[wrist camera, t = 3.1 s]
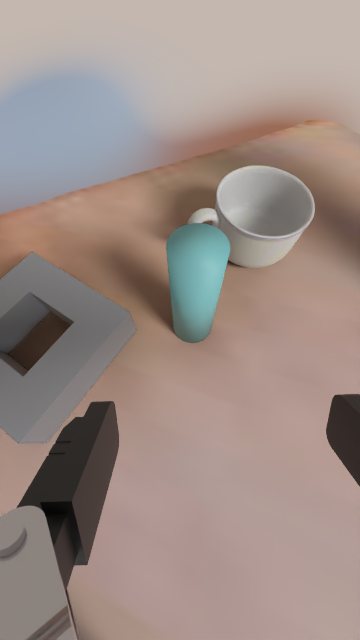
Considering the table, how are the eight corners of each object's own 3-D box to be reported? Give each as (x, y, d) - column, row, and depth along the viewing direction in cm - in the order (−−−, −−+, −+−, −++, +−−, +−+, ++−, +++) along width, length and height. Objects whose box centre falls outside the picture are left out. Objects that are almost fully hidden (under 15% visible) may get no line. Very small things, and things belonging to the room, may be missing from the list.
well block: (51, 275, 32) (32, 251, 28) (136, 329, 29) (129, 311, 25) (-44, 364, 27) (-84, 350, 23) (46, 443, 24) (18, 443, 20)
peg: (186, 302, 30) (188, 214, 18) (218, 320, 29) (241, 238, 17) (165, 330, 29) (153, 253, 17) (198, 350, 27) (209, 282, 16)
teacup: (277, 216, 36) (300, 161, 29) (298, 277, 32) (332, 229, 24) (182, 223, 36) (182, 169, 29) (189, 286, 31) (191, 239, 24)
